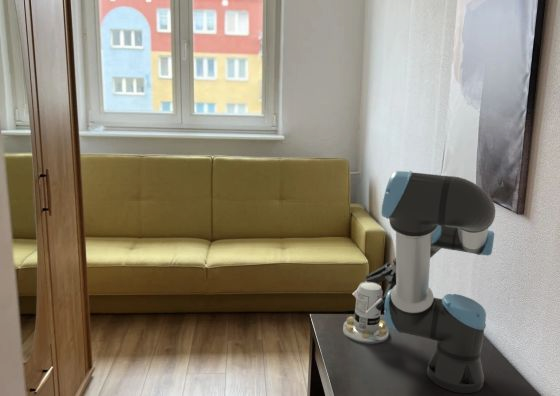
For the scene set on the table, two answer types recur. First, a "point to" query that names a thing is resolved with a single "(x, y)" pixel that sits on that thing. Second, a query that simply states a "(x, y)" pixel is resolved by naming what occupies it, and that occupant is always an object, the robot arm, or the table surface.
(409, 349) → the table surface
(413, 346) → the table surface
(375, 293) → the supplement can
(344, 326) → the ring plate
